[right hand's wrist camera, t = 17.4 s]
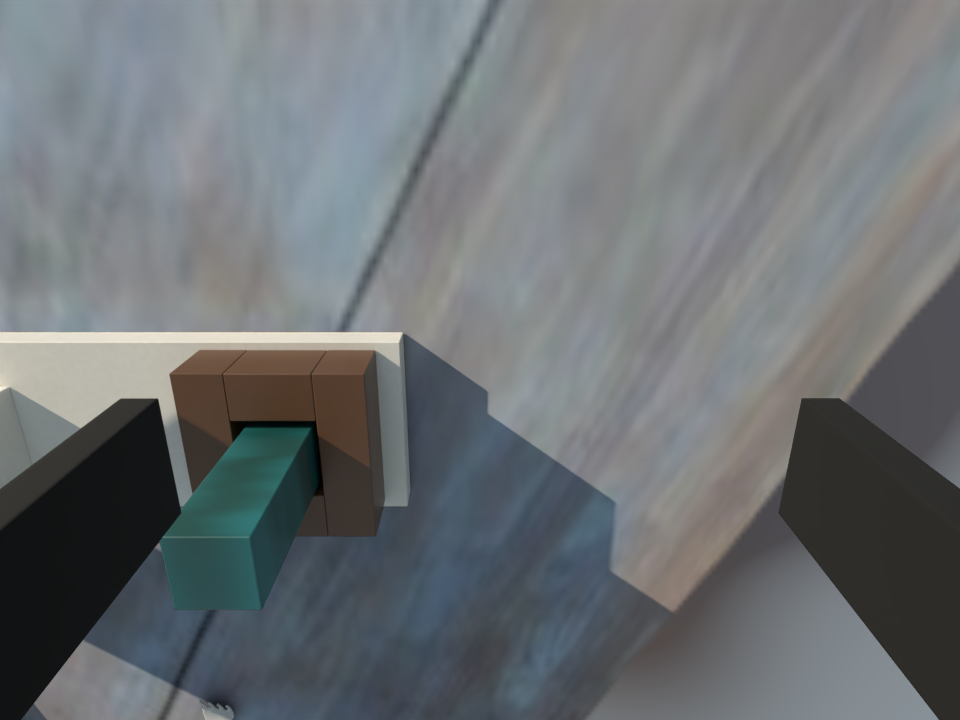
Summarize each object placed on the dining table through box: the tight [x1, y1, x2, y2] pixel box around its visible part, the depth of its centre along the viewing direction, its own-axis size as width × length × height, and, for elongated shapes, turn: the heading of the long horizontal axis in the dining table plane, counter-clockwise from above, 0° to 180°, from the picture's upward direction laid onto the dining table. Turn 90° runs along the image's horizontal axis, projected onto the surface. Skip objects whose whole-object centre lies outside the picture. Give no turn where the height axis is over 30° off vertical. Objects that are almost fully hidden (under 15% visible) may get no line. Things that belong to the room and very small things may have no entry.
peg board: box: [0, 332, 410, 536], centre depth 35 cm, size 30×12×14 cm, turn 90°
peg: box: [159, 421, 322, 610], centre depth 34 cm, size 4×4×14 cm
